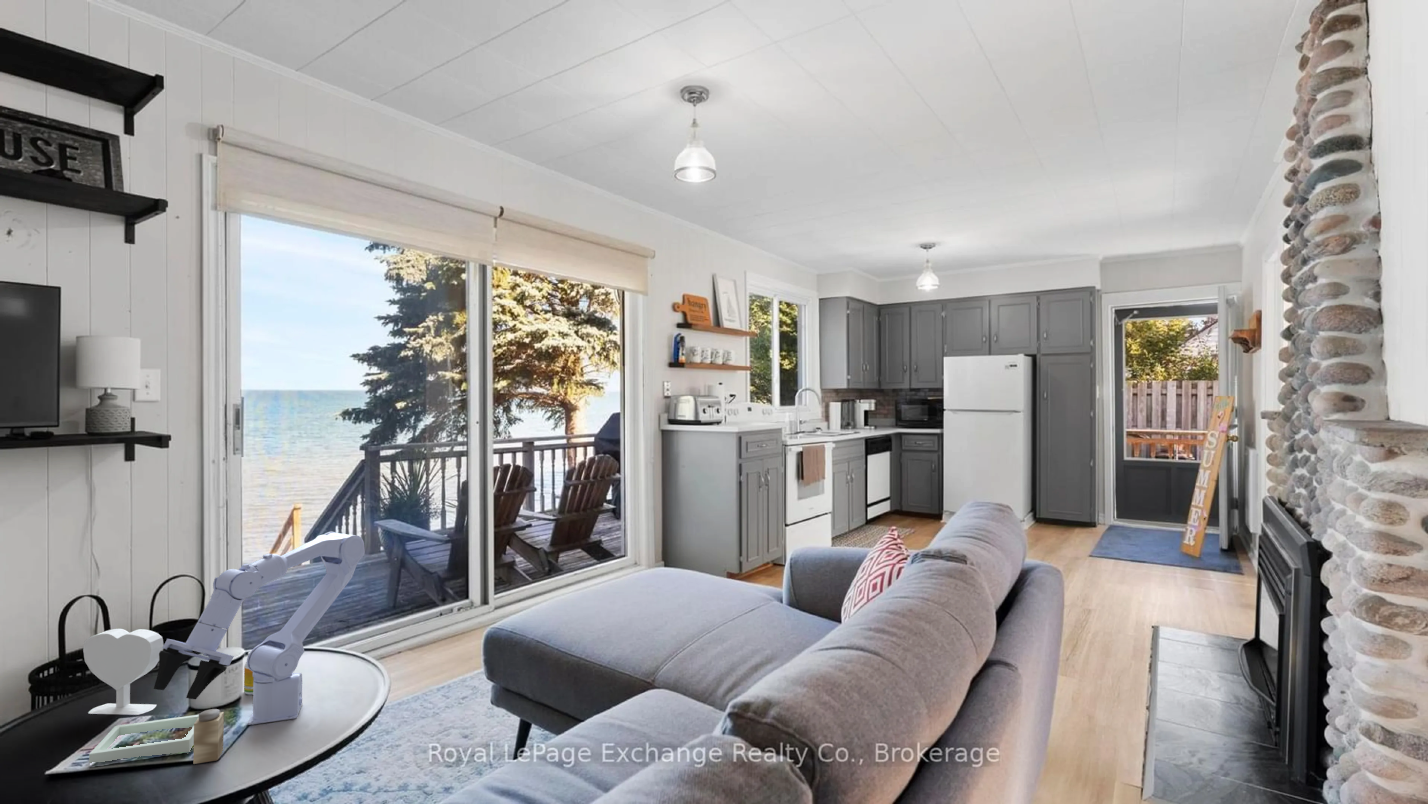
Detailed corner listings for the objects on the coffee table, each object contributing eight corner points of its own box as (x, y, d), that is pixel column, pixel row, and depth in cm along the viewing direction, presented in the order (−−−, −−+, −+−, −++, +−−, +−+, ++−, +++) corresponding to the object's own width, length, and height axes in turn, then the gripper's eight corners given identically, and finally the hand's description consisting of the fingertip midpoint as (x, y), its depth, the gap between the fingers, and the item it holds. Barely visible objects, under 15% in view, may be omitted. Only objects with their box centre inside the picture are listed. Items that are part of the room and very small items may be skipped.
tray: (206, 725, 149) (207, 713, 149) (189, 752, 138) (189, 739, 138) (115, 738, 143) (115, 725, 143) (88, 768, 132) (89, 753, 132)
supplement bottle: (256, 696, 164) (257, 656, 164) (238, 693, 165) (239, 654, 165) (275, 686, 169) (276, 648, 169) (257, 684, 170) (258, 646, 170)
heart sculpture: (165, 704, 158) (166, 628, 158) (147, 714, 153) (148, 635, 153) (99, 703, 158) (100, 626, 158) (79, 713, 153) (80, 634, 153)
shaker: (223, 750, 139) (223, 706, 139) (217, 759, 136) (218, 715, 136) (199, 753, 138) (200, 709, 138) (193, 763, 134) (194, 718, 134)
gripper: (168, 614, 140) (128, 683, 134) (229, 630, 138) (191, 700, 132) (193, 620, 146) (155, 686, 140) (251, 636, 144) (216, 703, 138)
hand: (174, 693), depth 136 cm, fingers open, 7 cm apart
